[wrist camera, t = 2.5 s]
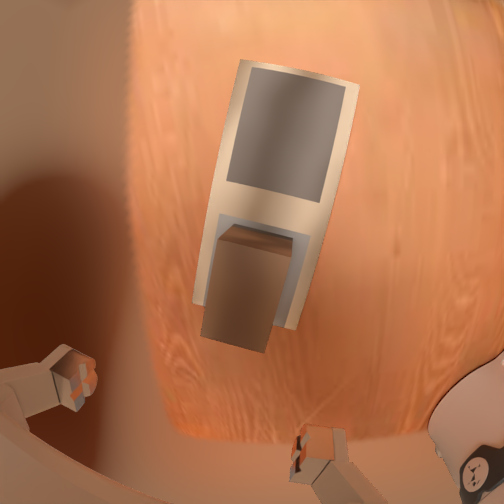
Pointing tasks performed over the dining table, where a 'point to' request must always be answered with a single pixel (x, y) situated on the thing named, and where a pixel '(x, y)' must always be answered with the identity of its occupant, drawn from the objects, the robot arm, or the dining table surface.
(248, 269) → the block
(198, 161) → the dining table surface
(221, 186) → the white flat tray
